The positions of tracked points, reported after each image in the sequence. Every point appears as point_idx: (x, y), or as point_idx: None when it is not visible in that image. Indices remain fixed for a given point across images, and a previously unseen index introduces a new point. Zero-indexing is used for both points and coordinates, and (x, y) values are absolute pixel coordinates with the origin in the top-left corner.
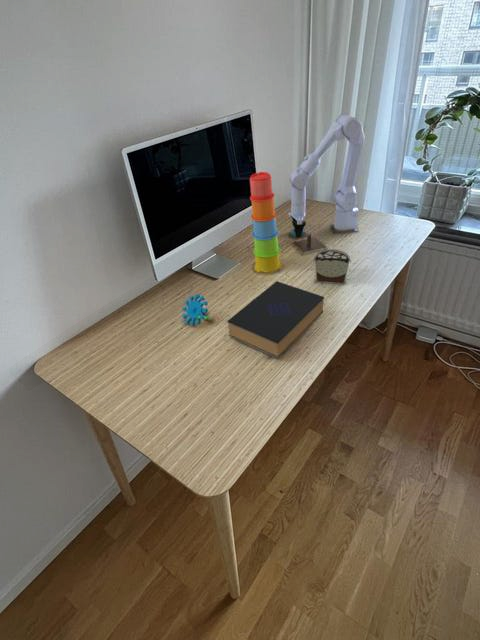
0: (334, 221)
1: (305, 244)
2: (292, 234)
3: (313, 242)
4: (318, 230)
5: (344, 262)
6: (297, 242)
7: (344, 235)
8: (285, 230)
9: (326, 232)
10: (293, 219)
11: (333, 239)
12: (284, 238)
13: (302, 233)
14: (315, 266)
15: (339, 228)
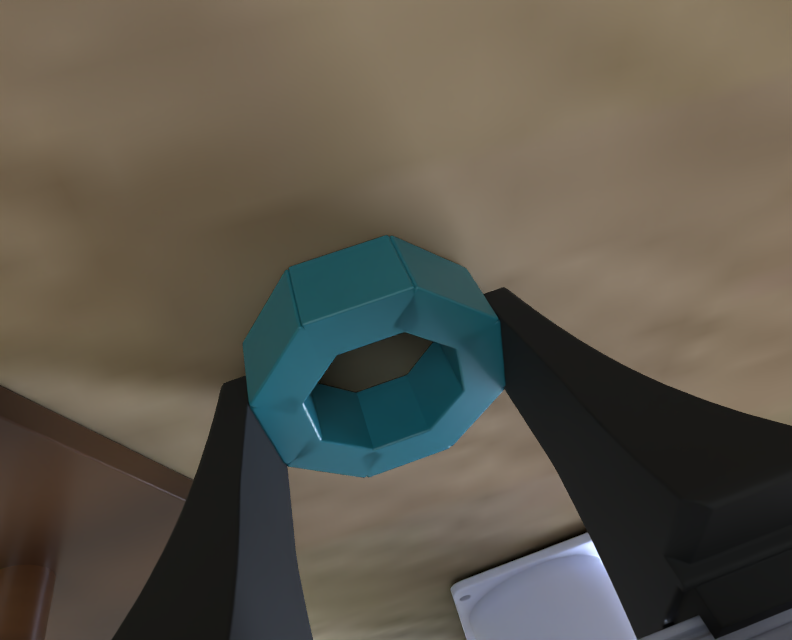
0: (580, 619)
1: (3, 553)
2: (281, 326)
3: (123, 585)
4: (516, 477)
5: None
6: (11, 458)
7: (403, 628)
8: (578, 79)
9: (463, 537)
10: (611, 454)
11: (312, 615)
12: (177, 156)
13: (311, 466)
14: None
15: (485, 623)
